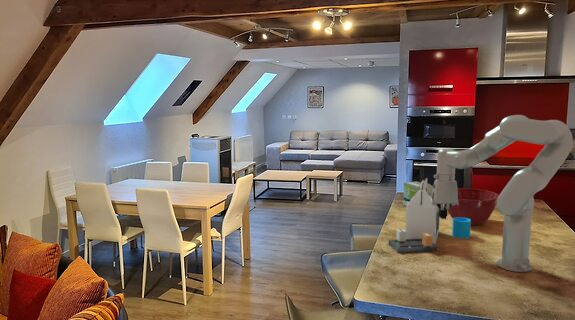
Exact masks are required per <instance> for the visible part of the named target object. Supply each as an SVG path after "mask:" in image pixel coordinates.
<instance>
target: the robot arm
mask: <svg viewBox="0 0 575 320" xmlns="http://www.w3.org/2000/svg"><path fill="white" fill-rule="evenodd" d="M516 141H519V142H525V143H529V144H535V145H542V146H543V145H544V146H543V148H542V149H541V150H540V151H539V152H538V153H537V154H536V157H535V158H534V159H533V160H532V161H531V163H529V165H528V166H527V167H525V168H522V169H519V170H518V171H517V172H515V173H514V174H513V176H512V177H511V178H510V180H509V181H508V182H507V184H506V185H505V186H504V188H503V189H502V191H501V192H500V193H499V194H498V195H499V196H498V198H497V202H496V209H497V210H498V212H499V213H500V215H501V214H502V215H503V216H504V217H503V219H504V220H503V229H502V251H501V258H500V259H498V260H497V261H496V262H497V263H496V264H497V266H498V267H499V268H501V269H504V270H506V271H511V272H515V273H516V272H517V273H526V272H530V271H533V265H532V264H531V262H530V258H529V257H530V243H531V242H530V241H531V229H532V228H531V227H532V219H533V211H534V207H535V200H534V199H535V198H534V196H535V194H536V193H538V192H540V191H542V190H543V189H545V188H546V187H547V185H548V184H549V182H550V180H551V179H552V178H553V177H554V175H555V174H556V173H557V172H558V170H559V169H560V167H561V166H562V164H563V163H564V162H565V160H566V159H567V158H568V156H569V155H570V152H571V151H572V147H573V141H574V140H573V134H572V132H571V130H570V128H569V126H568V125H567V124H566V123H565V122H563V121H561V120H558V119H549V120H539V119H538V120H537V119H531V118H528V117H527V116H526V115H523V114H514V115H509V116H506V117H504V118H503V119H502V120H501V121H500V123H499V125H497V126H496V127H494V128H493V129H491V130H489V131H488V132H486V133H485V134H484V138H483V139H482V140H480V142H478V143H476V144H475V145H474V146H472V147H470V148H468V149H462V150H458V151H457V150H455V149H452V148H440V149H439V150H438V151H437V158H436V159H437V160H436V161H437V162H436V163H437V164H436V174H433V178H434V179H435V180H434V182H433V185H432V186H433V190H432V205H433V206H437V207H438V208H439V216H440V219H441V220H447V217H448V210H449V208H450V207H451V206H453V205H456V203H457V199H458V191H457V188H458V184H457V183H458V182H457V180H455V179H456V176H455V175H456V169H459V170H464V169H468V168H471V167H472V168H473V167H475V166H476V165H478V164H480V163H483V162H484V161H485V160H487V159H489V158H490V157H492V156H493V155H495V154H497V153H499V151H501V150H503V149H504V148H506V147H508V146H509V145H511V144H513V143H515V142H516Z"/></svg>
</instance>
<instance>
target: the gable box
mask: <svg viewBox="0 0 575 320" xmlns="http://www.w3.org/2000/svg"><path fill="white" fill-rule="evenodd" d="M432 186H433V185H431V184H430V183H428V177H426V178H425V179H422V180H421V182H420V184H419V188H420V189H419V190H418V191H417V193H416V194H415V196H413V198H412V199H411V201H410V202H409V203H408V205H407V206H405V207H406V209H405V210H406V211H405V213H406V214H405V231H406V239H422V234H425V233H429V234H430V235H432V236H433V238H432V243H434V244H435V245H436V242H437V240H438V236H439V233H440V224H441V223H440V219H441V218H440V216H439V208H438V207H437V206H433V205H432V190H433V187H432ZM427 190H428V193H427Z"/></svg>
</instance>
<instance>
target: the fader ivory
mask: <svg viewBox="0 0 575 320" xmlns="http://www.w3.org/2000/svg"><path fill="white" fill-rule="evenodd" d="M395 231H396V232H395V233H396V235H395V236H396V237H395V240H398V241H399V242H401V241H406V230H405V229H402V228H397V229H396V230H395Z"/></svg>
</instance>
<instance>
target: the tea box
mask: <svg viewBox="0 0 575 320" xmlns="http://www.w3.org/2000/svg"><path fill="white" fill-rule="evenodd" d="M420 183H421V182H419V181H410V182H404V183H403V206H405V207H406V206H407V205H408V203H409V202H410V201H411V199H412V198H413V196H415V194H416V193H417V191H418V190H419V189H420V188H419V184H420ZM431 186H432V187H433V185H431ZM427 193H428V190H427Z"/></svg>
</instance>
